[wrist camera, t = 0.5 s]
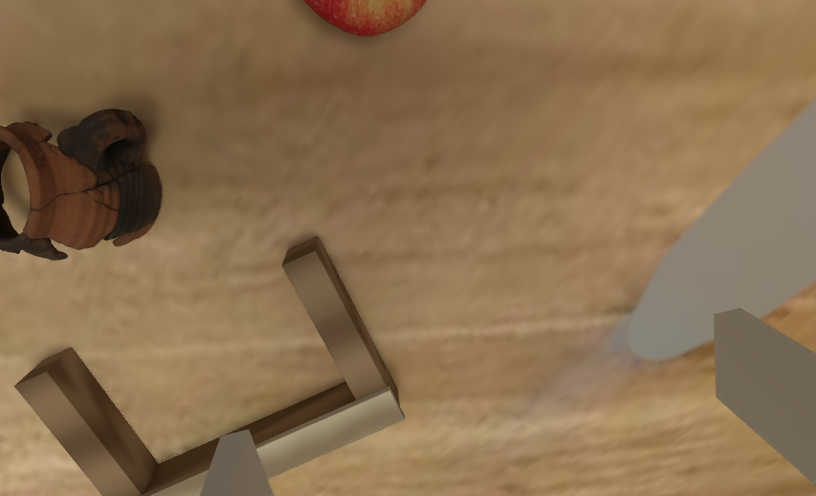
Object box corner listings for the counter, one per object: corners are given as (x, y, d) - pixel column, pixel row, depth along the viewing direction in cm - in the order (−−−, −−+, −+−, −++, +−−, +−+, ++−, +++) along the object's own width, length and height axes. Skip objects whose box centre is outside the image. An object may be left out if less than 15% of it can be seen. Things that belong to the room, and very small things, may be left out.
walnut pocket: (39, 361, 40) (6, 391, 36) (320, 235, 39) (317, 252, 35) (146, 500, 45) (127, 540, 41) (400, 389, 44) (404, 419, 40)
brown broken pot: (129, 273, 39) (9, 298, 32) (63, 177, 41) (-67, 180, 33) (215, 161, 35) (97, 160, 27) (137, 58, 36) (5, 30, 29)
